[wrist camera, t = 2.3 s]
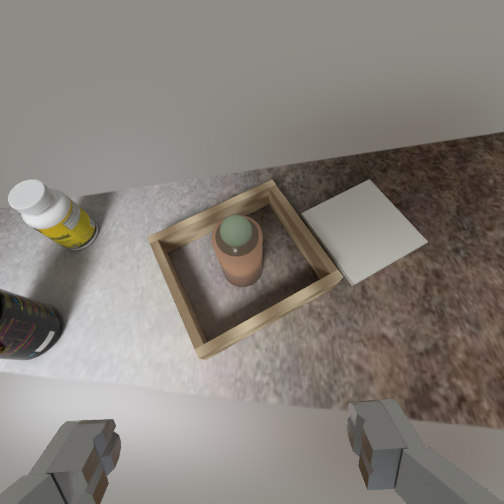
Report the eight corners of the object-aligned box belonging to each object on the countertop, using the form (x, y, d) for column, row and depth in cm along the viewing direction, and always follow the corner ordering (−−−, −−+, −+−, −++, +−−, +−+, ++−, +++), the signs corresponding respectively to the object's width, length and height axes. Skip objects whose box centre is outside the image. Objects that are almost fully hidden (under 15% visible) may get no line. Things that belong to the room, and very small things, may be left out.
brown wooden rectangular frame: (271, 197, 40) (272, 179, 36) (334, 287, 34) (343, 276, 30) (158, 250, 37) (147, 237, 33) (206, 360, 31) (198, 358, 27)
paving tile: (367, 182, 40) (369, 179, 40) (424, 244, 36) (428, 242, 35) (300, 216, 38) (301, 213, 38) (352, 286, 34) (354, 284, 33)
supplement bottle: (54, 247, 38) (-10, 208, 29) (73, 215, 40) (19, 169, 31) (88, 255, 37) (32, 218, 28) (106, 222, 39) (60, 178, 30)
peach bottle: (250, 244, 37) (246, 191, 26) (269, 275, 35) (273, 232, 24) (216, 261, 36) (197, 213, 25) (234, 294, 34) (221, 257, 23)
